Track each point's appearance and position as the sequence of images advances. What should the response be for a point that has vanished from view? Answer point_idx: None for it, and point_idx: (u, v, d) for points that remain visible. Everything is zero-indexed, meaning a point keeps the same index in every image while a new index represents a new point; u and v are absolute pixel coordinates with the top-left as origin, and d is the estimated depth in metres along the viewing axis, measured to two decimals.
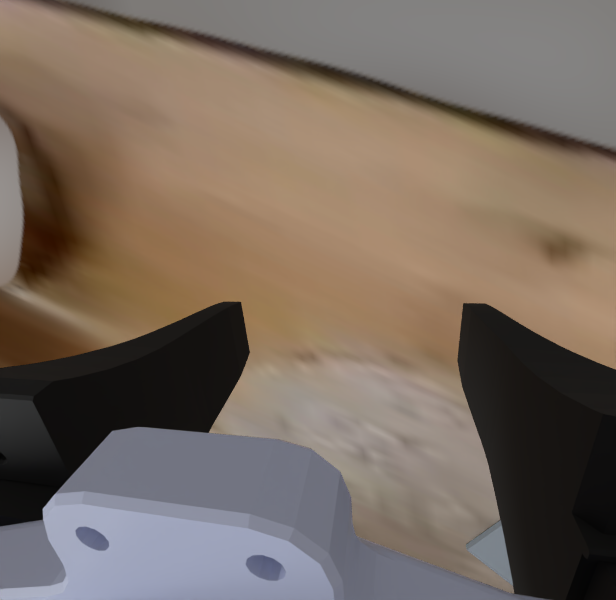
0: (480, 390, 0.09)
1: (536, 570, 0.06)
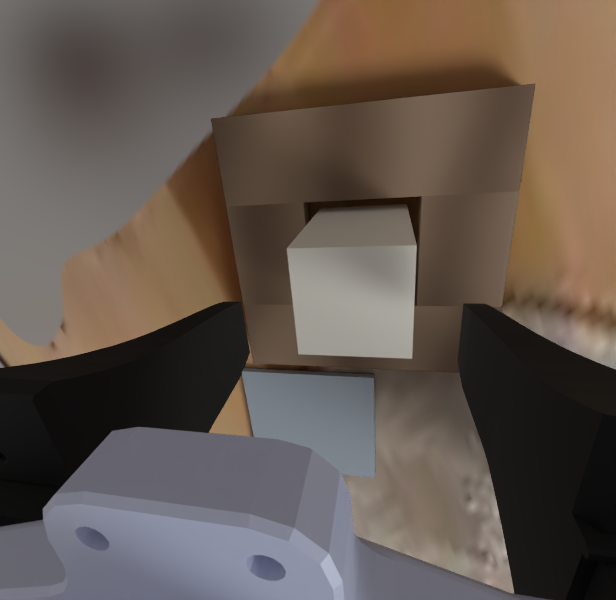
0: (480, 390, 0.09)
1: (536, 570, 0.06)
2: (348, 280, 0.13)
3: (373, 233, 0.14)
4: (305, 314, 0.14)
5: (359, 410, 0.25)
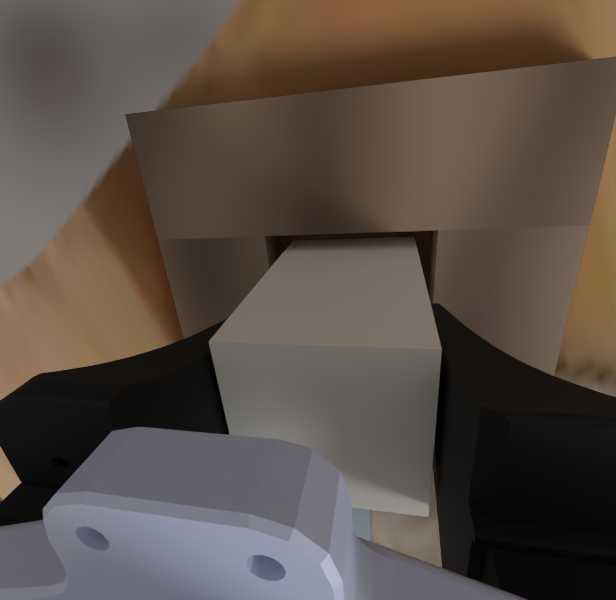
0: None
1: (453, 558, 0.06)
2: (317, 397, 0.07)
3: (363, 306, 0.08)
4: None
5: None
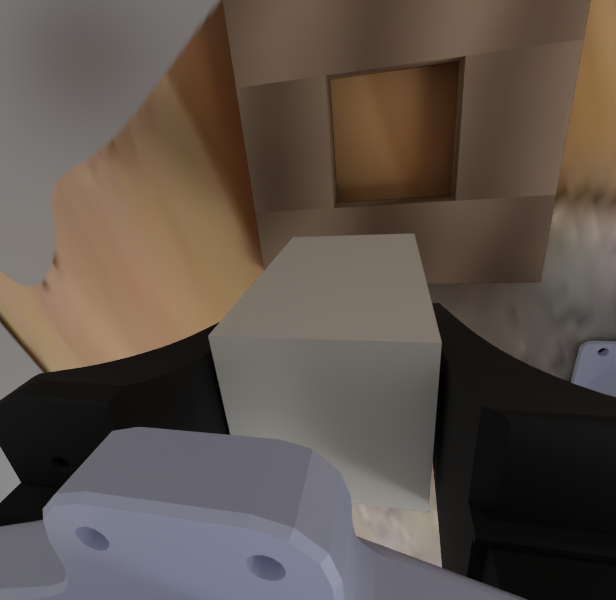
0: None
1: (453, 558, 0.06)
2: (316, 391, 0.07)
3: (363, 301, 0.08)
4: None
5: None
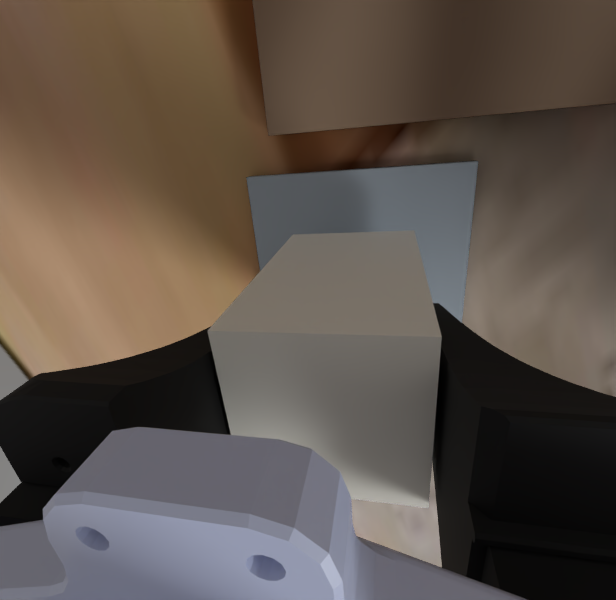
0: None
1: (452, 558, 0.06)
2: (316, 387, 0.07)
3: (362, 296, 0.08)
4: (248, 432, 0.08)
5: (444, 235, 0.15)
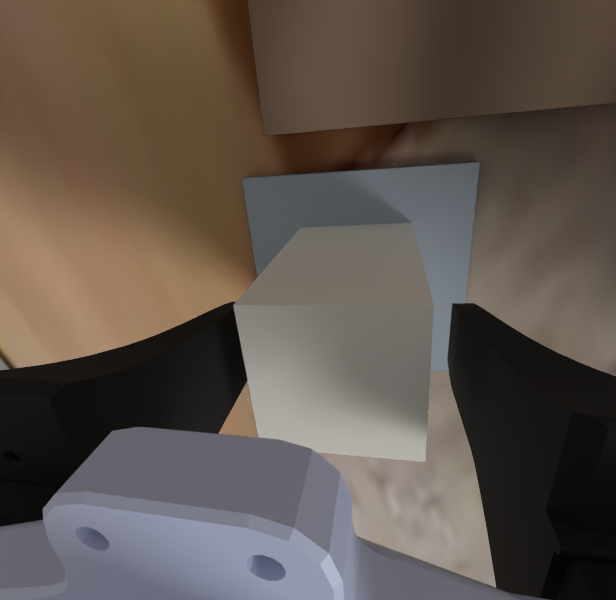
0: (467, 389, 0.09)
1: (516, 567, 0.06)
2: (327, 353, 0.09)
3: (366, 276, 0.09)
4: (267, 397, 0.10)
5: (445, 238, 0.14)
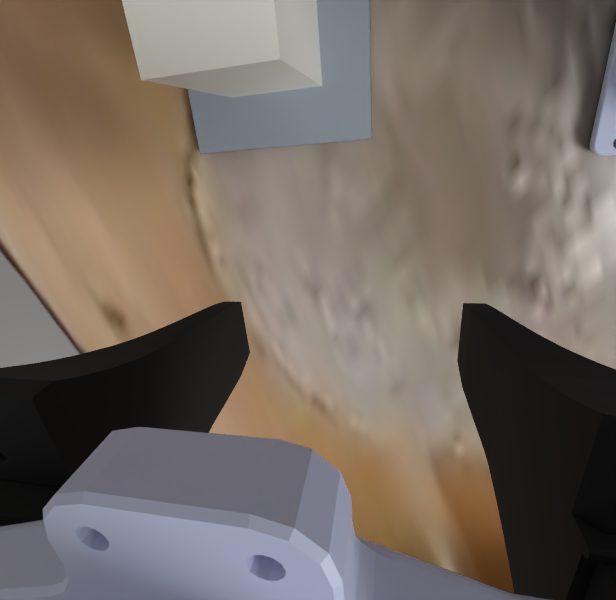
0: (480, 390, 0.09)
1: (536, 570, 0.06)
2: None
3: None
4: (137, 4, 0.10)
5: None
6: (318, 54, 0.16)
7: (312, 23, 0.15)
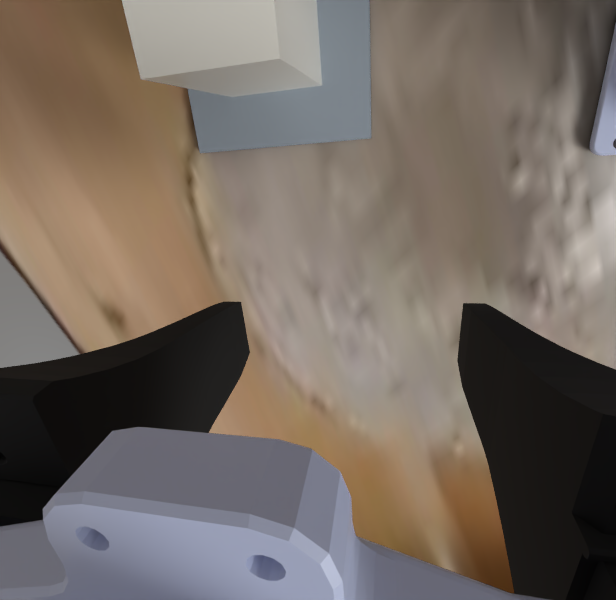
0: (480, 390, 0.09)
1: (536, 570, 0.06)
2: None
3: None
4: (137, 3, 0.10)
5: None
6: (318, 54, 0.16)
7: (312, 22, 0.15)
